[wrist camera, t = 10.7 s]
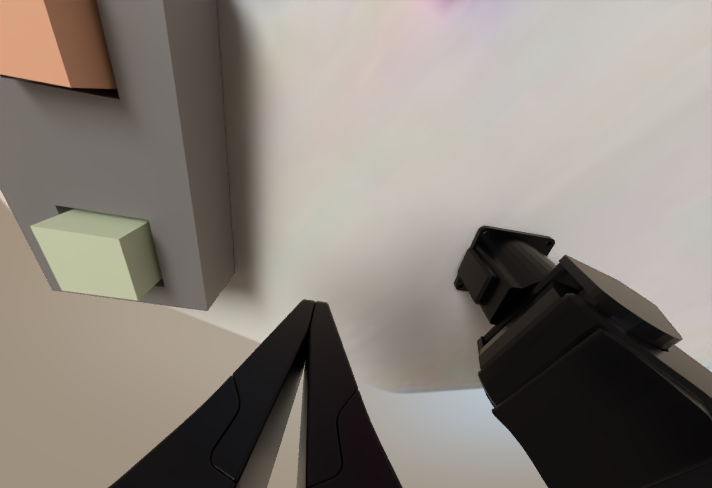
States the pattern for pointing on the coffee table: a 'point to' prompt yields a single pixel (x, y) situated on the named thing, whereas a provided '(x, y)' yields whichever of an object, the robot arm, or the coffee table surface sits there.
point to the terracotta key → (55, 43)
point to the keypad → (133, 145)
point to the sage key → (100, 253)
